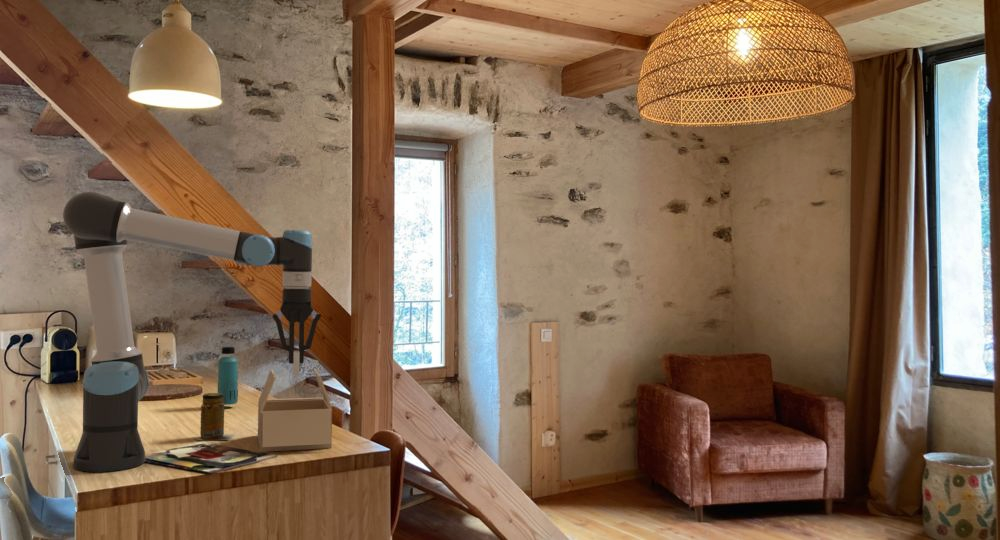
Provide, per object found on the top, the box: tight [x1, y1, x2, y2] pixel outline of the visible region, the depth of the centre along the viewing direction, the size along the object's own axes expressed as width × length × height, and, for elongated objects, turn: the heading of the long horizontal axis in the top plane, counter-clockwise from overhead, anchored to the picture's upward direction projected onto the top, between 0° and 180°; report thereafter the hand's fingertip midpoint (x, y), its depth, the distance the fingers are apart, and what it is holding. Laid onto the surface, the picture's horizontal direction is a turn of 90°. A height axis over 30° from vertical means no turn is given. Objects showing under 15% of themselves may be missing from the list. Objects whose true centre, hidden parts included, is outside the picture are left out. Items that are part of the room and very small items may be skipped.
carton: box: [257, 399, 333, 453], centre depth 210 cm, size 18×16×10 cm
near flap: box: [262, 408, 332, 447], centre depth 200 cm, size 17×1×9 cm, turn 109°
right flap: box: [312, 367, 333, 409], centre depth 212 cm, size 1×15×9 cm, turn 19°
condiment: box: [195, 392, 234, 442], centre depth 214 cm, size 7×8×12 cm
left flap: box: [258, 368, 276, 411], centre depth 207 cm, size 1×15×9 cm, turn 19°
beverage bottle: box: [217, 346, 239, 406], centre depth 257 cm, size 6×7×20 cm
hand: (295, 375), depth 210 cm, fingers closed
